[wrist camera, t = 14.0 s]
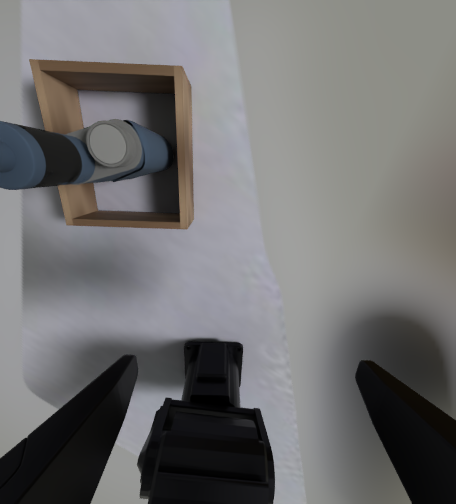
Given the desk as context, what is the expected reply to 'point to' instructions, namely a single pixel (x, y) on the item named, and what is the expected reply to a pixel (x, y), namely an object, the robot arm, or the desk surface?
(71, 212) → the box
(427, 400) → the robot arm
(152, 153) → the vaping device
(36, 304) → the desk surface
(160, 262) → the desk surface
